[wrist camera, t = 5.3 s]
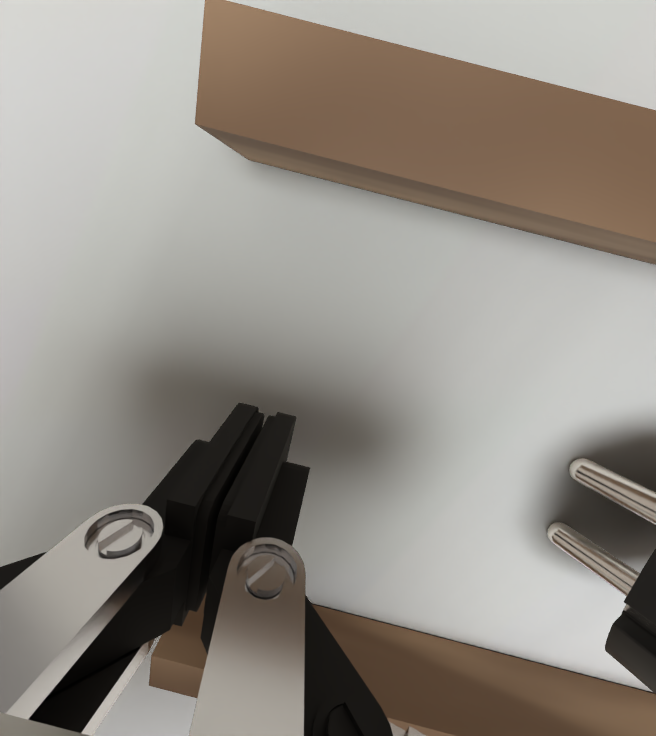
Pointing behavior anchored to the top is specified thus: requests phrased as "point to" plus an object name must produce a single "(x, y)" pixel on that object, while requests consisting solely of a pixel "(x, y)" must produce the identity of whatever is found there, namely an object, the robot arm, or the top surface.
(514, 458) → the top surface
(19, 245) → the top surface
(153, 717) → the top surface
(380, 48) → the brown wooden u-shaped frame
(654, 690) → the power plug
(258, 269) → the top surface
